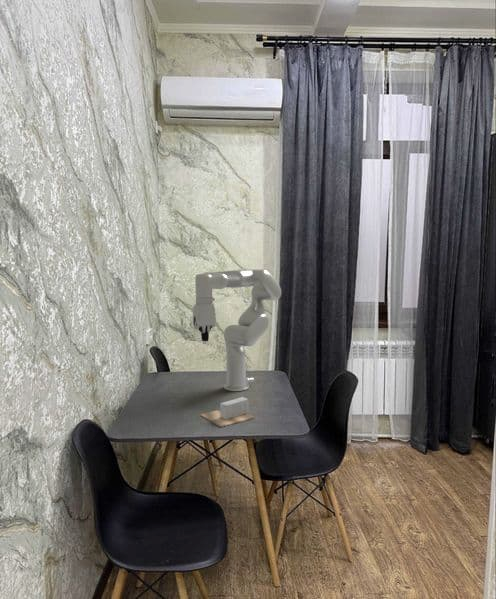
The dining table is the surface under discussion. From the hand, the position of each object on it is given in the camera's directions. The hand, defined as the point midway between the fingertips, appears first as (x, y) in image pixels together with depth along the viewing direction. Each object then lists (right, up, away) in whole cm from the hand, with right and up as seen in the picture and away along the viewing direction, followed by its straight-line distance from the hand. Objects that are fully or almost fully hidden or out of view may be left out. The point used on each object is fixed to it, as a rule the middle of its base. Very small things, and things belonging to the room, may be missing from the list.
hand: (205, 340), depth 206 cm
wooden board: (+11, -29, -21) cm, 38 cm away
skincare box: (+19, -25, -17) cm, 36 cm away
